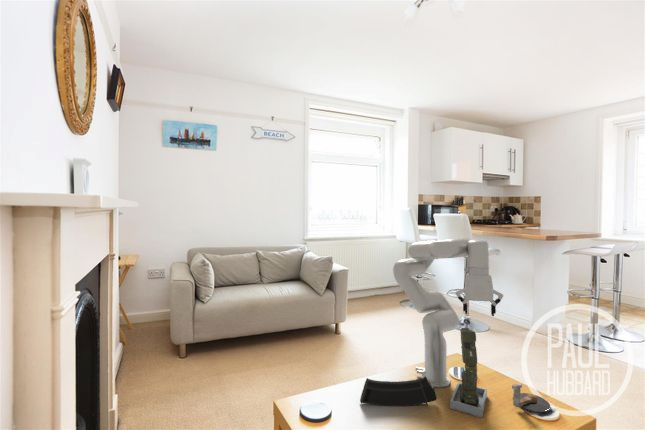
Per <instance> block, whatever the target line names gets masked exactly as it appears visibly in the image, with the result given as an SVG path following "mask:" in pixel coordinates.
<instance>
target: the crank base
mask: <svg viewBox="0 0 645 430" xmlns="http://www.w3.org/2000/svg"><path fill="white" fill-rule="evenodd" d="M527 394H530V393H526V392H522V393H521V392H520V399H521V398H524V397H527ZM535 395H536V394H535ZM536 396H537V397H538V400H537V403H532V402H530V403H527V404H524V405H521V406H520V407H519V408H520V409H522V410H524V411H526V412H529V413H533V414H536V415H537V414H538V415H539V414H540V415H544V414H548V413H550V411H551V404H550V403H549V401H548V400H546V399H545V398H543V397H541V396H539V395H536ZM549 408H550V409H549ZM547 409H549V410H547ZM545 410H547V411H545Z"/></svg>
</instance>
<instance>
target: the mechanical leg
mask: <svg viewBox="0 0 645 430" xmlns="http://www.w3.org/2000/svg"><path fill="white" fill-rule="evenodd" d="M476 342H477V333H476V331H475V330H472V329H470V328H469V327H468V328H467V327H466V328H465V327H461V329H460V344H461V357H462V363H463V364H464V369H463V370H462V371H461V383H462V388H461V390H460V393H459V395H460V402H462V403H464V404H468V405H471V406H475V407H478V404H479V396H478V394H477V387H478V384H477V383H478V354H477V346H476Z"/></svg>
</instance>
